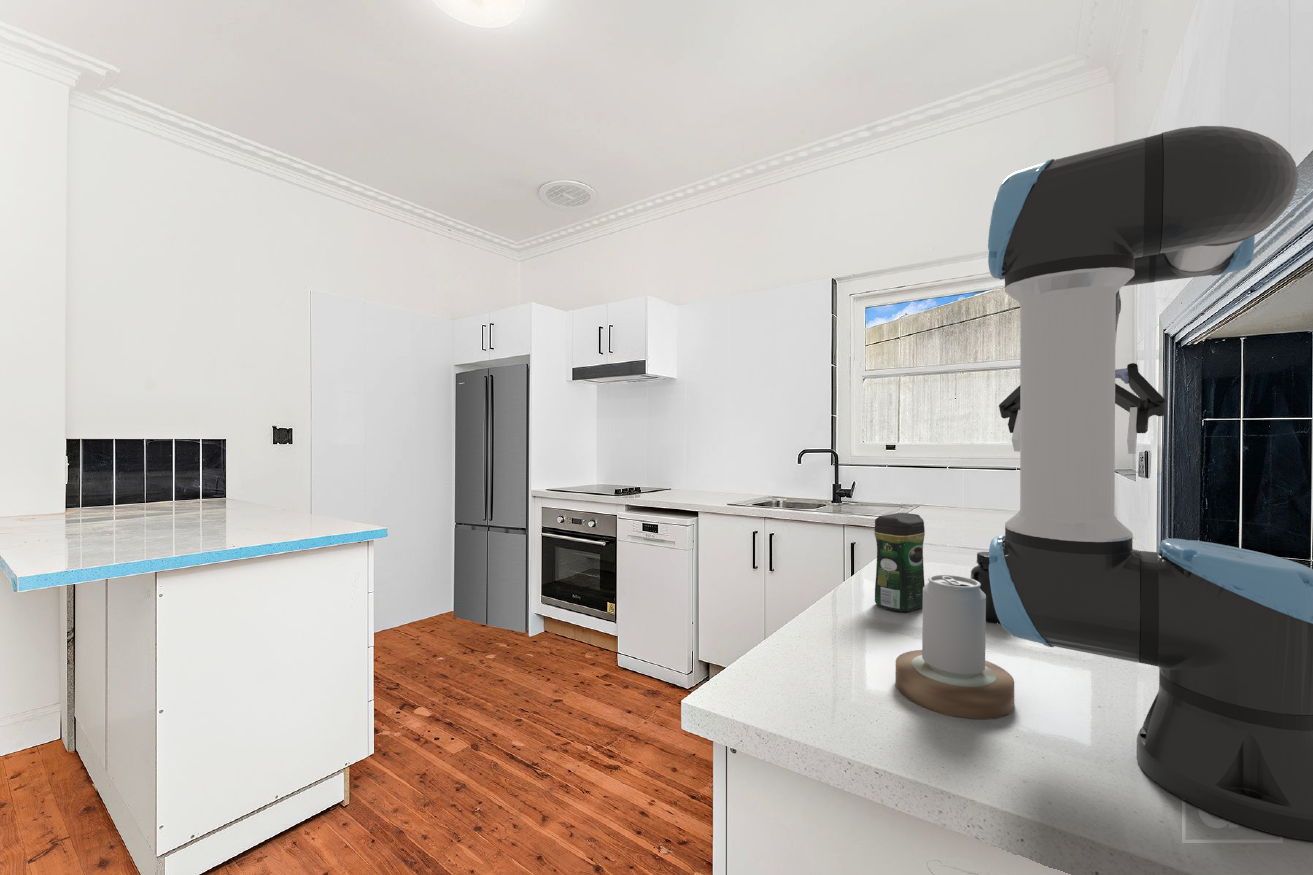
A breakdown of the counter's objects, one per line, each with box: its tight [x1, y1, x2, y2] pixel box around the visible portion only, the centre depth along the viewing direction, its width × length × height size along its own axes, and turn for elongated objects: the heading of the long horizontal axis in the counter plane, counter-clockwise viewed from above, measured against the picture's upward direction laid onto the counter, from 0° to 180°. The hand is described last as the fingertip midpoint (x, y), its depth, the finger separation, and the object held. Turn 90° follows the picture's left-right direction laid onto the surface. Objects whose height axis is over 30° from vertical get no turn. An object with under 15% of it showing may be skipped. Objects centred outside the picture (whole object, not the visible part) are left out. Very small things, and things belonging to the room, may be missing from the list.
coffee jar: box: [874, 512, 926, 613], centre depth 112 cm, size 10×8×19 cm
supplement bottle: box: [970, 551, 1001, 625], centre depth 105 cm, size 7×7×12 cm
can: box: [921, 574, 987, 678], centre depth 75 cm, size 8×8×12 cm
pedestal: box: [894, 649, 1015, 720], centre depth 75 cm, size 14×14×3 cm
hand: (1070, 446), depth 82 cm, fingers open, 13 cm apart
